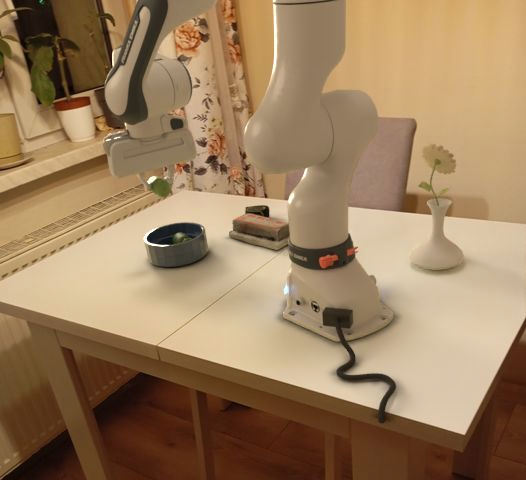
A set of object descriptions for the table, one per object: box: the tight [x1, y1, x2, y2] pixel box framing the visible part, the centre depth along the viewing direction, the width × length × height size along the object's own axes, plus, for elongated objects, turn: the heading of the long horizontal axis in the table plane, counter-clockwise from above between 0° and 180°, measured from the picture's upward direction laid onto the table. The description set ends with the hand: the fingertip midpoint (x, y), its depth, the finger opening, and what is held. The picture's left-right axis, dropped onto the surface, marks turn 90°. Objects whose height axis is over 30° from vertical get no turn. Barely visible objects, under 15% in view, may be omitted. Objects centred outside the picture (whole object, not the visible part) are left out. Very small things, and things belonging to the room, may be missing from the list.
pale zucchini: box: [147, 175, 172, 198], centre depth 132 cm, size 9×4×4 cm, turn 30°
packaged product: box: [228, 213, 290, 251], centre depth 147 cm, size 18×5×10 cm
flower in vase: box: [408, 143, 465, 271], centre depth 119 cm, size 13×11×25 cm
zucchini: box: [172, 232, 192, 244], centre depth 144 cm, size 10×4×4 cm, turn 30°
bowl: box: [143, 221, 209, 268], centre depth 143 cm, size 15×15×6 cm
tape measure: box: [244, 204, 271, 218], centre depth 158 cm, size 7×7×4 cm
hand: (159, 187), depth 132 cm, fingers closed on pale zucchini, 4 cm apart
